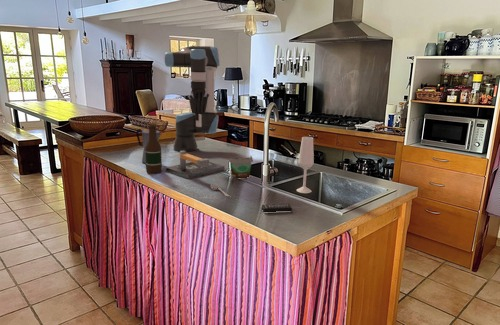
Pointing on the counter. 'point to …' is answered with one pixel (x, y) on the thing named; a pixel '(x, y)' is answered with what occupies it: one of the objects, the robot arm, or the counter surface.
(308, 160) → the champagne flute
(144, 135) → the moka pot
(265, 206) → the multiport hub
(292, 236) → the counter surface
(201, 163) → the hammer
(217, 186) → the spoon
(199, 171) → the plate
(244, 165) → the food container
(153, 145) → the beer bottle
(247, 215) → the counter surface
